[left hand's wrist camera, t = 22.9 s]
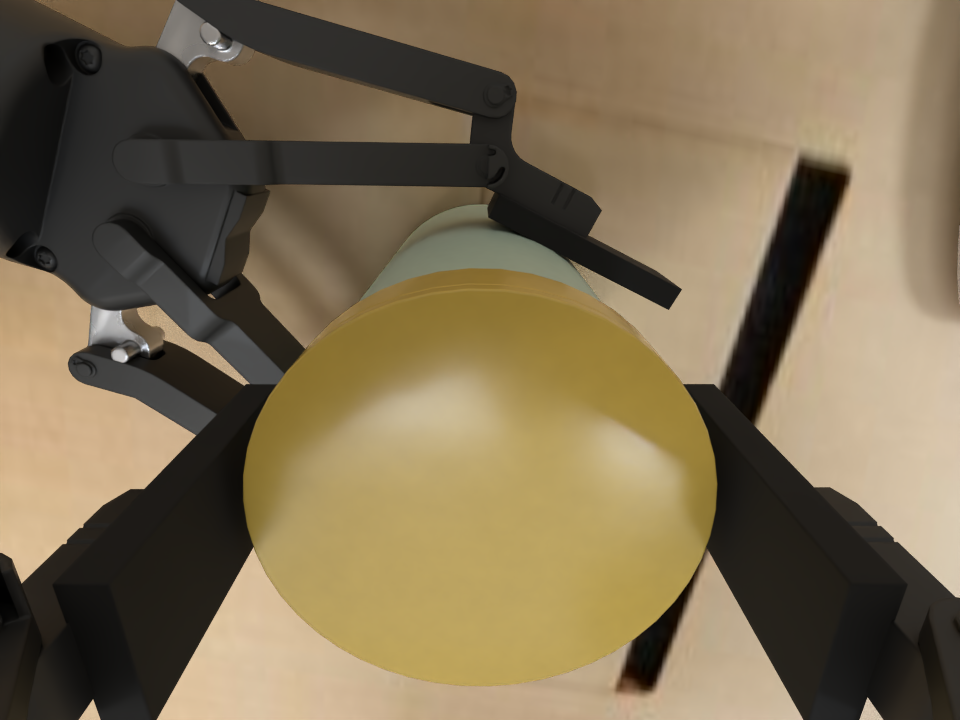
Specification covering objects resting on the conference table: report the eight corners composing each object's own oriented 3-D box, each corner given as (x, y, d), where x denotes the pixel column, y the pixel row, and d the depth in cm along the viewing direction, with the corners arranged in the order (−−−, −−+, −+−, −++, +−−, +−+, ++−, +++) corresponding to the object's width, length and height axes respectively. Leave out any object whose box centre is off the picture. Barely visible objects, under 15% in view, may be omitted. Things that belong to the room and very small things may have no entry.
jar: (348, 297, 26) (185, 487, 11) (483, 160, 23) (488, 187, 9) (477, 416, 28) (474, 699, 14) (610, 302, 26) (771, 498, 12)
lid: (233, 277, 11) (191, 300, 9) (709, 257, 11) (748, 277, 9) (307, 632, 14) (286, 693, 12) (669, 620, 14) (693, 681, 12)
